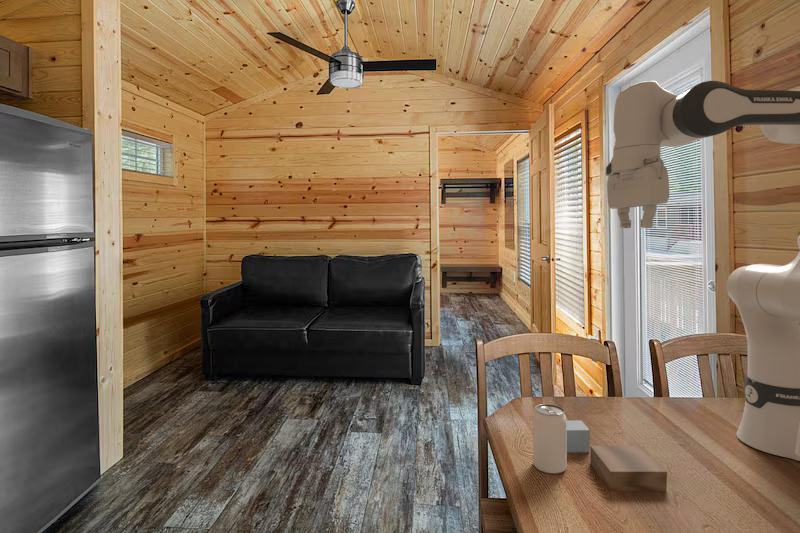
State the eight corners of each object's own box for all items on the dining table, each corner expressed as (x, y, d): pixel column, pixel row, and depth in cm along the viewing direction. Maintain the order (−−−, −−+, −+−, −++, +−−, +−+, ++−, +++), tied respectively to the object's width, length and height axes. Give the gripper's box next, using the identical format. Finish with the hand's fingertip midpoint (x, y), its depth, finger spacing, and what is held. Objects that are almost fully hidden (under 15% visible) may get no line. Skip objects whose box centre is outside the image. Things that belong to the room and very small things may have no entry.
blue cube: (581, 441, 102) (581, 420, 101) (589, 452, 97) (589, 430, 96) (559, 441, 102) (559, 420, 102) (566, 452, 97) (566, 430, 97)
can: (556, 456, 95) (556, 401, 94) (573, 472, 89) (573, 414, 88) (527, 460, 94) (527, 404, 93) (542, 476, 88) (542, 417, 87)
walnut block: (640, 464, 92) (640, 445, 92) (666, 492, 82) (666, 471, 82) (590, 464, 92) (590, 445, 92) (610, 492, 83) (610, 471, 82)
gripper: (679, 153, 85) (678, 227, 86) (629, 168, 105) (629, 228, 106) (645, 154, 85) (644, 228, 86) (602, 169, 105) (601, 228, 106)
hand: (635, 228), depth 96 cm, fingers open, 8 cm apart
